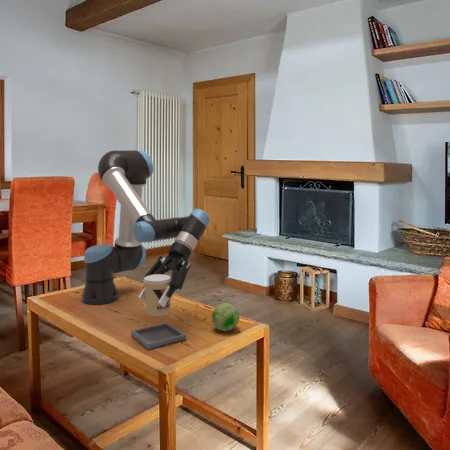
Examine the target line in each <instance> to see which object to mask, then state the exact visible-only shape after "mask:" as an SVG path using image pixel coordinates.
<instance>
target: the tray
mask: <svg viewBox="0 0 450 450" xmlns="http://www.w3.org/2000/svg"><path fill="white" fill-rule="evenodd" d="M130 335H131V337H132V338H133V339H134V340H135V341H136V342H137V343H139V344H140V345H141V346H143V347H144V348H145V349H146V350H148V351H150V350H155V349H159V348H162V347H166V346H170V345H174V344H178V343H181V342H186V341H187V334H186V333H184V332H183V331H181V329H178V328H176V327H175V326H174V325H172V324H171V323H169V322H162V323H159V324H155V325H151V326H150V325H149V326H146V327H141V328H138V329H132V330H130Z"/></svg>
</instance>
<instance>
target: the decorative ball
mask: <svg viewBox="0 0 450 450" xmlns="http://www.w3.org/2000/svg"><path fill="white" fill-rule="evenodd" d="M211 322H212V324H213V326H214V327H215V328H216V329H218V330H219V331H222V332H230V331H232V330H233V329H235V328H236V327H237V326H238V324H239V322H240V312H239V310H238V309H237V307H235V306H234V304H232V303H228V302H222V303H219V304H217V305H216V306H215V308H214V309H213V310H212V313H211Z"/></svg>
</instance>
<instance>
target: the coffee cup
mask: <svg viewBox="0 0 450 450" xmlns="http://www.w3.org/2000/svg"><path fill="white" fill-rule="evenodd" d="M171 277H172V276H170V275H169V274H165V273H164V274H155V275H149V276H146V277H145V278H144V277H143V287H144V289H145V299H146V300H145V308H146V312H147V314H148V315H149V316H153V317H154V316H156V317H157V316H159V317H160V316H165V315H167V314H169V313H170V311H171V298H169V299H168V301H167V303H166V305H165V307H162V306H161V305H160V304H159V303H158V302H159V300H160V299H161V297H162V295H163V293H164V292H165V290H166V288H167V286H170V285H169V284H171ZM170 287H171V286H170Z"/></svg>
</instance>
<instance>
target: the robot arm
mask: <svg viewBox="0 0 450 450" xmlns="http://www.w3.org/2000/svg"><path fill="white" fill-rule="evenodd" d="M153 172H154V165H153V160H152V158H151V156H150V155H149V154H148V153H147V152H146V151H144V150H138V149H135V150H134V149H133V150H132V149H131V150H118V149H117V150H116V149H115V150H110V151H107V152H106V153H104V155H102V156H101V158H100V159H99V162H98V166H97V174H98V177H99V179H100V181H101V182H102V183H103V185H104V186H106V187H109V189H110V191H111V192H112V194H113V196H114V197H115V198H116V200H117V202H118V203H119V205H120V211H119V225H118V237H117V238H115V240H114V246H112V244H108V243H102V244H96V245H92V246H90V247H88V248H86V250H85V251H84V255H83V256H84V259H83V261H84V273H85V275H84V276H85V283H84V284H85V285H84V287H83V292H82V296H81V299H82V303H83V304H86V305H97V306H98V305H105V304H110V303H113V302H116V301H117V300H118V299H119V292H118V290H117V286H116V283H115V281H114V274H118V273H123V272H127V271H134V270H138V269H140V268H141V267H143V265H144V264H145V261H146V257H147V256H146V255H147V253H146V249H145V246H144V245H143V244H142V243H151V242H156V241H162V240H170V239H174V241H173V243H172V245H171V246H170V248H169V250H168V255H167V256H166V257H162V256H161V255H160V256H158V259H157V260H156V262H155V263H154V264H153V265H152V267H151V268H150V269H149V270H148V271H147V273H146V274H145V275H144V277H143V279H144V278H145V277H146V276H149V275H155V274H164V275H165V274H166V273H168V272H169V271H172V272H171V276H170V277H171V284H169V285H170V286H171V287H170V286H167V288H166V290H165V292H164V293H163V295H162V297H161V299H160V300H159V302H158V303H159V304H160V305H161V306H162V307H165V305H166V303H167V301H168V299H169V298H170V299H171V298H172V297H173V295H174V294H175V293H174V292H175V291H177V290H182V289H183V285H184V283H185V280H186V278H187V275H188V272H189V270H190V268H191V267H192V265H191V263H190V262H189V259H190V257H191V255H192V253H193V252H194V250H195V248H196V247H197V245H198V243H199V241H200V240H201V238H202V236H203V235H204V233H205V231H206V230H207V228H208V225H209V223H210V221H211V218H210V214H208V213H207V212H206V211H204V210H202V209H200V208H193V210H192V211H191V212H190V213H189V215H187V216H179V217H170V218H163V219H156V218H155V217H154V215H153V214H152V213H151V211H150V210H149V208H148V207H147V205H146V204H145V202H144V201H143V200H142V195H143V187H145V185H147V179H149V178H150V177H151V176H152V175H153ZM138 298H139V299H140V300H141V301H142V302H146V299H145V289H144V286H143V287H142V290H141V292H140V294H139V295H138Z"/></svg>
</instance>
